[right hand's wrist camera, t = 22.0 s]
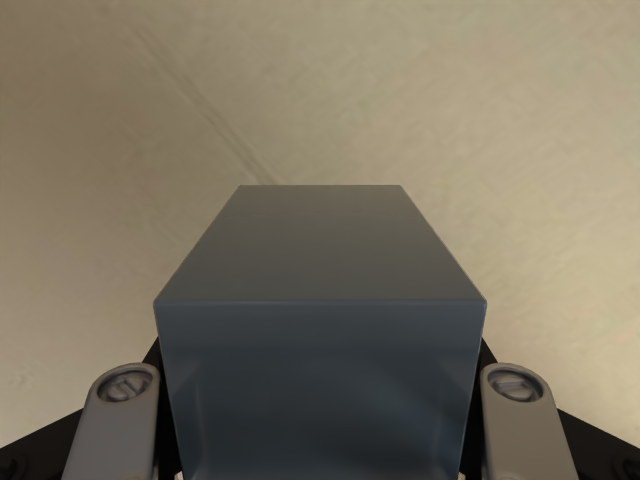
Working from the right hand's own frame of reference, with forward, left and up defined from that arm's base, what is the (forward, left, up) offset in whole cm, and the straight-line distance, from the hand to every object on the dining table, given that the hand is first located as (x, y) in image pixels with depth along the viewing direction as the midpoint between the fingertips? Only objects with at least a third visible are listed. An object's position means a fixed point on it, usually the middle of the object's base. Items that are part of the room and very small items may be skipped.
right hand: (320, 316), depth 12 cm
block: (0, 0, -2) cm, 2 cm away
